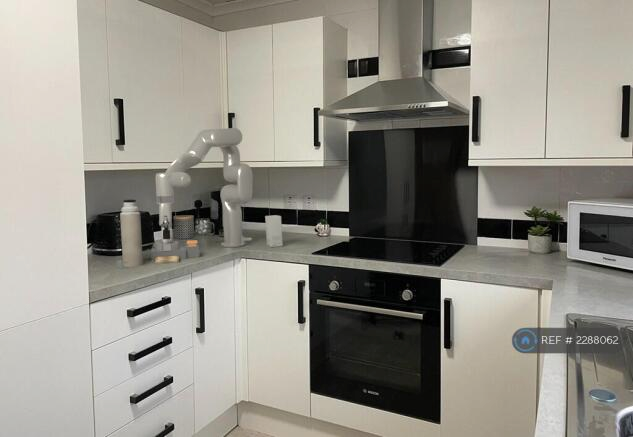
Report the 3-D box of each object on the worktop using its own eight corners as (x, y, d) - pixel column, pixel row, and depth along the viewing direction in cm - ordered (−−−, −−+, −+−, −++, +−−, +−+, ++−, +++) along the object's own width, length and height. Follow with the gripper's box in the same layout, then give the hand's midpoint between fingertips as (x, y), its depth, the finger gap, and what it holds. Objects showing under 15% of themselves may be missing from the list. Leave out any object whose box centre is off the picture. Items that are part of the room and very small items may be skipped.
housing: (199, 254, 240) (198, 239, 239) (199, 257, 231) (199, 242, 230) (152, 256, 235) (151, 241, 234) (151, 260, 225) (150, 245, 225)
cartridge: (173, 248, 234) (171, 219, 233) (172, 249, 230) (171, 221, 228) (160, 248, 233) (159, 220, 231) (160, 250, 228) (159, 221, 227)
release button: (197, 253, 237) (197, 240, 237) (197, 255, 233) (197, 241, 232) (187, 254, 236) (186, 240, 235) (187, 255, 232) (186, 242, 231)
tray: (179, 259, 228) (179, 255, 228) (179, 262, 221) (178, 258, 221) (156, 260, 226) (155, 257, 226) (155, 263, 219) (154, 260, 218)
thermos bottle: (119, 265, 216) (115, 199, 213) (136, 262, 222) (132, 198, 219) (129, 267, 211) (125, 200, 208) (146, 264, 217) (143, 199, 214)
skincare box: (282, 246, 258) (282, 216, 256) (270, 247, 255) (269, 216, 254) (277, 244, 266) (277, 214, 264) (265, 245, 263) (264, 215, 262)
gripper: (157, 199, 236) (159, 235, 238) (155, 201, 220) (157, 240, 222) (174, 198, 238) (175, 234, 240) (173, 201, 221) (175, 239, 223)
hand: (167, 237), depth 231 cm, fingers open, 9 cm apart
